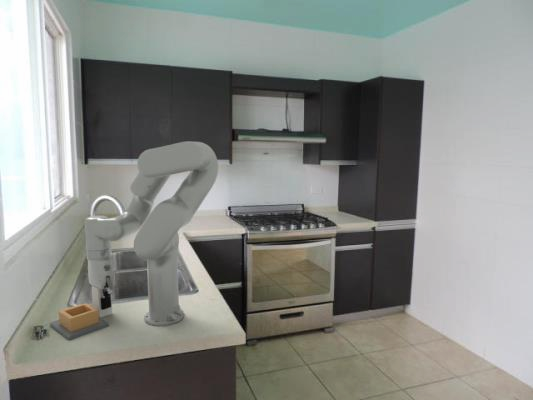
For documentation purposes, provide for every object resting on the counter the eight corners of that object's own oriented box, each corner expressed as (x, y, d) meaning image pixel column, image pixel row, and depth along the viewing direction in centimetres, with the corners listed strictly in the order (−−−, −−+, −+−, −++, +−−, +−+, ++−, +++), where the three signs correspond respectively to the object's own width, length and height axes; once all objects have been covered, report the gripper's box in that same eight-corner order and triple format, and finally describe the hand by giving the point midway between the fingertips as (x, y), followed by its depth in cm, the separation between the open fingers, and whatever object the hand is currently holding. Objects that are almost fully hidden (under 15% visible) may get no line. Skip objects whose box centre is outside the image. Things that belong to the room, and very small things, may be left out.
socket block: (108, 325, 119) (107, 310, 119) (68, 340, 110) (67, 323, 110) (88, 313, 128) (87, 299, 128) (50, 325, 119) (48, 310, 119)
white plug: (112, 313, 128) (110, 285, 127) (99, 317, 125) (97, 288, 124) (106, 310, 131) (104, 282, 130) (93, 314, 128) (91, 285, 126)
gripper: (123, 255, 123) (125, 309, 125) (98, 246, 134) (101, 296, 136) (100, 260, 117) (103, 317, 119) (76, 251, 128) (79, 303, 130)
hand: (102, 305), depth 128 cm, fingers open, 4 cm apart
